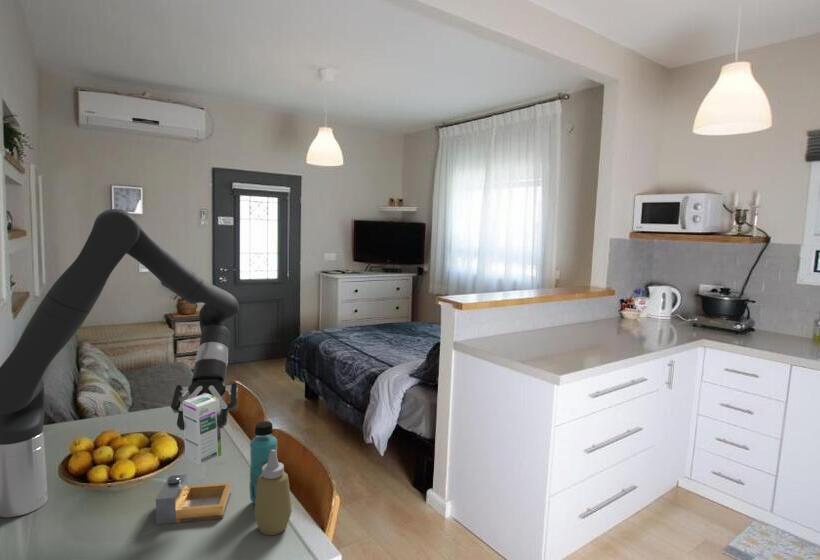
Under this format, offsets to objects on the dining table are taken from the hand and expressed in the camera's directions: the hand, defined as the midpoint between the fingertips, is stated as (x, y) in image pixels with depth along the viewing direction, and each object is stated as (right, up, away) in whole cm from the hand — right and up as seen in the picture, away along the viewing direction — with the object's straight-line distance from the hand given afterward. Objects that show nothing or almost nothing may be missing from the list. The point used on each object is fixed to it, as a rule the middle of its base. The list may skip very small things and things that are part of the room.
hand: (201, 428), depth 108 cm
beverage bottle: (+12, -20, +6) cm, 25 cm away
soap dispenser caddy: (-2, -20, +3) cm, 20 cm away
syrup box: (-1, -8, +2) cm, 8 cm away
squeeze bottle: (+17, -21, -3) cm, 28 cm away
